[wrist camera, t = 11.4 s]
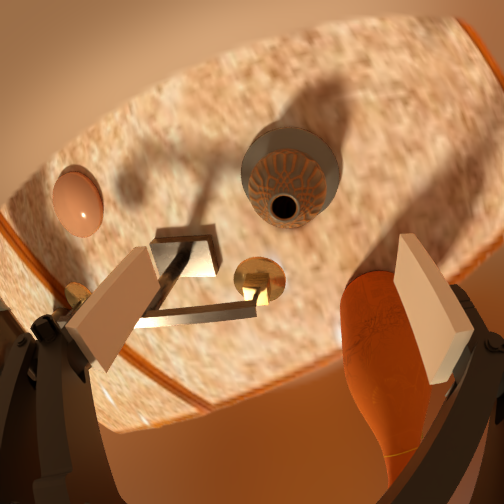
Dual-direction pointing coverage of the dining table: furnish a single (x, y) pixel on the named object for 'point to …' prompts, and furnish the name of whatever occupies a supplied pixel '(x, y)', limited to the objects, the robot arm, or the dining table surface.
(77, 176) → the dish
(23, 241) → the dining table surface
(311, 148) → the dish
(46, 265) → the dining table surface
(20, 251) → the dining table surface
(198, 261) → the balance
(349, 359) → the wine bottle
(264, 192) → the vase
